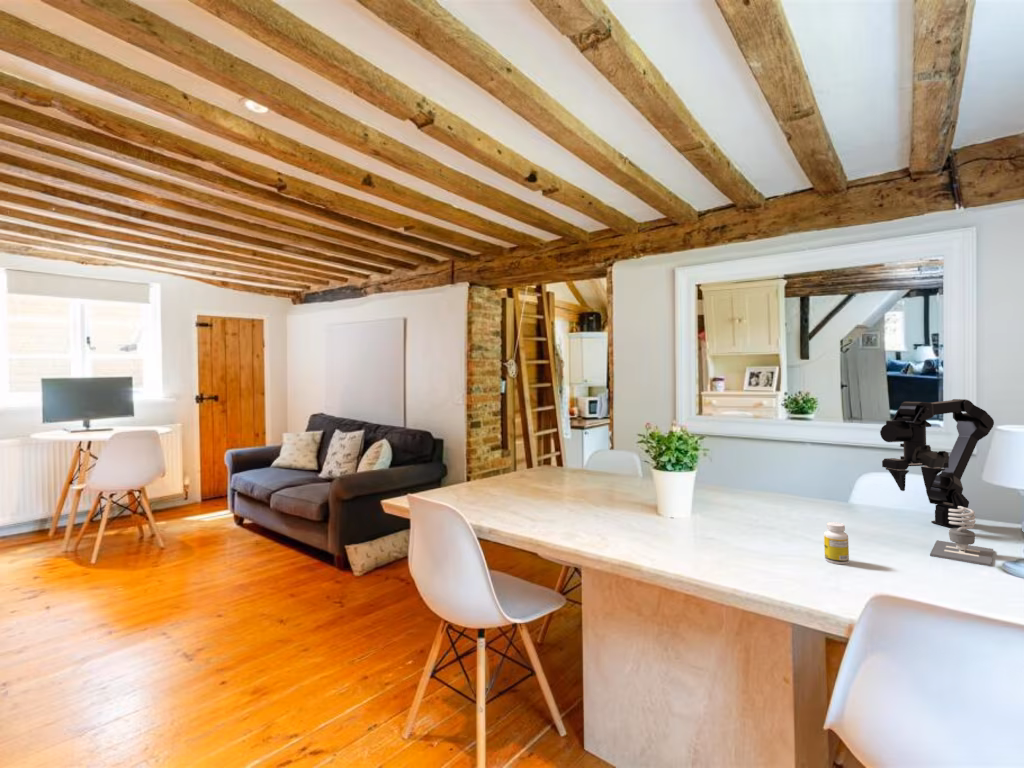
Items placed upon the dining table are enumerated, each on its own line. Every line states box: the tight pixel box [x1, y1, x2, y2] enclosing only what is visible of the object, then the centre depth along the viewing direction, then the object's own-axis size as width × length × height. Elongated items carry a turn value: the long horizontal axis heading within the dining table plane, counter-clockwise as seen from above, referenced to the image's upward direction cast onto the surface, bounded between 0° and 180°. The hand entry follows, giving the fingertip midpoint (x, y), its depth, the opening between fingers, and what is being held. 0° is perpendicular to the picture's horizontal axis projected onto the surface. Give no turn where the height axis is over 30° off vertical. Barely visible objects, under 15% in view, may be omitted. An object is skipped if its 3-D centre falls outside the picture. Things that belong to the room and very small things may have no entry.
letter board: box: [929, 539, 994, 567], centre depth 140 cm, size 16×12×1 cm
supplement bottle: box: [823, 521, 850, 565], centre depth 136 cm, size 5×5×10 cm
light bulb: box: [948, 506, 976, 551], centre depth 140 cm, size 6×6×12 cm
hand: (915, 490), depth 165 cm, fingers open, 9 cm apart
